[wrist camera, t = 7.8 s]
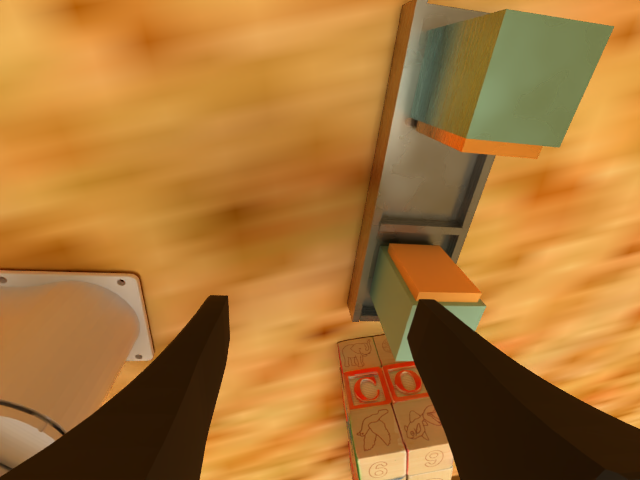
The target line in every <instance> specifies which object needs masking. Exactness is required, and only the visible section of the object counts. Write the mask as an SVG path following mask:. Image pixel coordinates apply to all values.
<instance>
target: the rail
mask: <svg viewBox="0 0 640 480" xmlns="http://www.w3.org/2000/svg"><path fill="white" fill-rule="evenodd" d="M427 2H428V0H412V1H410V2H408V3H406V4H404V5H402V10H401V16H400V21H399V27H398V32H397V37H396V43H395V48H394V54H393V59H392V64H391V70H390V75H389V81H388V86H387V92H386V97H385V102H384V108H383V113H382V119H381V124H380V129H379V135H378V140H377V146H376V151H375V157H374V162H373V167H372V173H371V178H370V184H369V189H368V194H367V200H366V205H365V211H364V216H363V222H362V227H361V232H360V238H359V243H358V249H357V254H356V259H355V265H354V270H353V276H352V281H351V286H350V292H349V297H348V303H347V304H348V308H349V312H350V315H351V319H352V322H359V319H360V321H380V320H379V317H378V315H377V312H376V310H375V307H374V304H373V302H372V299H371V297H370V289H371V285H372V280H373V276H374V271H375V267H376V262H377V258H378V253H379V249H380V246H389V243H393V244H417V245H439V246H440V247H441V248H442V249H443V250H444V251H445V252H446V254H447V255H448V256H449V257H450V258H451V259H452V260H453V261H454V263H455V264H456V263H457V260H458V257H459V255H460V252H461V249H462V246H463V244H464V241H465V238H466V235H467V233H468V230H469V227H470V224H471V222H472V219H473V216H474V213H475V211H476V208H477V205H478V202H479V200H480V197H481V194H482V191H483V189H484V186H485V183H486V181H487V178H488V175H489V172H490V170H491V167H492V164H493V161H494V159H495V156H496V155H500V156H511V157H522V158H533V159H537V158H538V156H539V153H540V151H541V149H542V146H550V147H560V145H561V143H562V141H563V138H564V136H565V134H566V132H567V130H568V127H569V125H570V123H571V121H572V119H573V116H574V114H575V112H576V110H577V108H578V105H579V103H580V101H581V99H582V97H583V94H584V92H585V90H586V88H587V86H588V83H589V81H590V79H591V77H592V74H593V72H594V70H595V68H596V66H597V63H598V61H599V59H600V57H601V55H602V52H603V50H604V48H605V46H606V44H607V41H608V39H609V37H610V35H611V33H612V30H613V28H614V26H608V25H602V24H596V23H589V22H583V21H577V20H571V19H564V18H558V17H552V16H546V15H540V14H533V13H527V12H521V11H515V10H509V9H505V10H501V11H498V12H494V13H485V12H479V11H473V10H466V9H460V8H454V7H447V6H441V5H435V4H428V3H427Z"/></svg>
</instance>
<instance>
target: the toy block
mask: <svg viewBox="0 0 640 480" xmlns="http://www.w3.org/2000/svg"><path fill="white" fill-rule="evenodd" d="M481 294H482V293H481V292H480V291H479V290H478V289H477V287H476V286H475V285H474V284H473V283H472V282H471V281H470V280H469V278H468V277H467V276H466V275H465V274H464V273H463V272H462V270H461V269H460V268H459V267H458V266H457V265H456V264H455V263H454V261H453V260H452V259H451V258H450V257H449V256H448V255H447V254H446V252H445V251H444V250H443V249H442V248H441V247H440V246H439V245H417V244H393V243H389V246H380V249H379V253H378V258H377V262H376V267H375V271H374V276H373V280H372V285H371V289H370V297H371V299H372V302H373V304H374V307H375V310H376V312H377V315H378V317H379V320H380V323H381V325H382V328H383V330H384V333H385V336H386V338H387V341H388V343H389V346H390V349H391V351H392V354H393V356H394V359H395V361H414V360H413V357H412V354H411V351H410V347H409V344H408V340H407V336H408V333H409V329H410V326H411V323H412V320H413V317H414V314H415V311H416V307H417V304H418V301H419V299H434V300H436V301H437V302H438V303H440V304H441V305H442V306H444V307H445V308H446V309H448V310H449V311H450V312H451V313H453V314H454V315H455V316H456V317H458V318H459V319H460V320H461V321H462V322H464V323H465V324H466V325H467V326H469V327H470V328H471V329H472V330H474V331H475V330H476V328H477V326H478V323H479V321H480V319H481V317H482V315H483V312H484V310H485V308H486V305H485V304H484V303H483V302H482V301H481V300H480V296H481Z"/></svg>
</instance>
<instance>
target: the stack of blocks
mask: <svg viewBox="0 0 640 480" xmlns="http://www.w3.org/2000/svg"><path fill="white" fill-rule="evenodd" d="M338 351H339V358H340V366H341V367H340V376H341V384H342V394H343V402H344V409H345V415H346V423H347V430H348V439H349V441H348V445H349V454H350V467H351V474H352V479H353V480H451V476H452V471H453V465H452V464H453V459H454V458H453V455H452V452H451V449H450V446H449V443H448V440H447V437H446V434H445V432H444V429H443V427H442V424H441V422H440V419H439V417H438V415H437V413H436V410H435V408H434V406H433V404H432V402H431V399H430V397H429V395H428V393H427V391H426V388H425V386H424V384H423V382H422V379H421V377H420V375H419V373H418V370H417V368H416V366H415V363H414V361H395V359H394V356H393V354H392V351H391V349H390V346H389V343H388V341H387V338H386V336H385V335H381V336H375V337H366V338H360V339H355V340H348V341H343V342H339V343H338Z"/></svg>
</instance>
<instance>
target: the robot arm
mask: <svg viewBox="0 0 640 480" xmlns="http://www.w3.org/2000/svg"><path fill="white" fill-rule="evenodd" d="M3 277H4V278H3ZM5 278H6V279H5ZM120 279H121V280H124V281H125V282H122V281H120ZM407 340H408V344H409V347H410V351H411V354H412V357H413V360H414V363H415V366H416V368H417V370H418V373H419V375H420V377H421V379H422V382H423V384H424V386H425V388H426V391H427V393H428V395H429V397H430V399H431V402H432V404H433V406H434V408H435V410H436V413H437V415H438V417H439V419H440V422H441V424H442V427H443V429H444V432H445V434H446V437H447V440H448V443H449V446H450V449H451V452H452V455H453V458H454V461H455V464H456V467H457V470H458V473H459V477H460V480H640V429H639V428H636V427H634V426H632V425H629V424H627V423H625V422H623V421H621V420H619V419H617V418H615V417H613V416H611V415H609V414H606V413H604V412H602V411H600V410H598V409H596V408H594V407H592V406H590V405H589V404H587V403H585V402H583V401H581V400H579V399H577V398H575V397H574V396H572V395H570V394H568V393H566V392H565V391H563V390H561V389H559V388H557V387H556V386H554V385H552V384H551V383H549V382H547V381H545V380H544V379H542V378H541V377H539V376H537V375H536V374H534V373H533V372H531V371H530V370H528V369H526V368H525V367H523V366H522V365H520V364H519V363H517V362H516V361H514V360H513V359H511V358H510V357H509V356H507V355H506V354H504V353H503V352H502V351H500V350H499V349H497V348H496V347H495V346H493V345H492V344H491V343H489V342H488V341H487V340H485V339H484V338H483V337H481V336H480V335H479V334H478V333H476V332H475V331H474V330H472V329H471V328H470V327H469V326H467V325H466V324H465V323H464V322H462V321H461V320H460V319H459V318H458V317H456V316H455V315H454V314H453V313H451V312H450V311H449V310H448V309H446V308H445V307H444V306H442V305H441V304H440V303H438V302H437V301H436V300H434V299H419V301H418V304H417V307H416V311H415V314H414V317H413V320H412V323H411V326H410V329H409V333H408V336H407ZM229 341H230V329H229V305H228V296H217V295H210V296H209V297H208V298H207V299H206V300H205V302H204V303H203V305H202V306H201V307H200V309H199V310H198V311H197V313H196V314H195V315H194V316H193V318H192V319H191V320H190V321H189V323H188V324H187V325H186V326H185V327H184V328H183V330H182V331H181V332H180V333H179V334H178V335H177V337H176V338H175V339H174V340H173V341H172V342H171V343H170V344H169V345H168V346H167V347H166V348H165V350H164V351H163V352H162V353H161V354H160V355H159V356H158V357H157V358H156V359H155V360H154V361H153V362H152V363H151V364H150V365H149V366H148V367H147V368H146V369H145V370H144V371H143V372H142V373H140V374H139V375H138V376H137V377H136V378H135V379H134V380H133V381H132V382H131V383H129V384H128V385H127V386H126V387H125V388H124V389H122V390H121V391H120V392H119V393H118V394H116V395H115V396H114V397H113V398H112V399H110V400H109V401H108V402H107V403H106V404H104V405H103V406H102V407H101V405H102V403H103V401H104V400H105V398H106V396H107V394H108V392H109V390H110V388H111V387H112V385H113V383H114V381H115V379H116V377H117V376H118V374H119V372H120V370H121V368H122V366H123V364H124V363H125V361H148V360H151V359H152V358H153V356H154V350H153V345H152V340H151V335H150V330H149V325H148V320H147V315H146V310H145V305H144V300H143V295H142V290H141V285H140V280H139V278H138V277H137V276H136V275H134V274H126V273H88V272H49V271H10V270H0V480H200V474H201V468H202V462H203V456H204V451H205V445H206V440H207V436H208V431H209V427H210V423H211V419H212V416H213V412H214V408H215V404H216V401H217V397H218V393H219V389H220V386H221V382H222V378H223V374H224V370H225V366H226V361H227V354H228V348H229ZM139 354H140V355H139ZM100 407H101V408H100Z"/></svg>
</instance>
